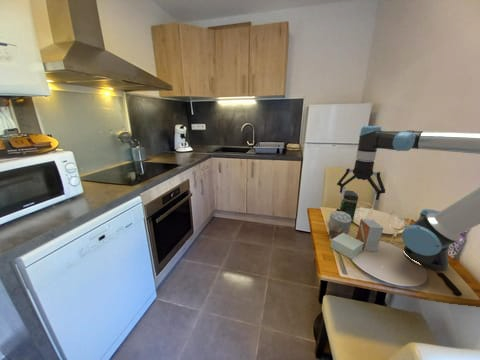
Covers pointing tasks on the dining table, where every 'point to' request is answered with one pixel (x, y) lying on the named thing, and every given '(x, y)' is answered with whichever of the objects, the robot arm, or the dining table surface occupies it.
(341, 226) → the lumpy-topped squat cylinder
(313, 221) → the dining table surface
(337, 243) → the pedestal
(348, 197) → the coffee jar
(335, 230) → the walnut cube
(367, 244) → the small box
